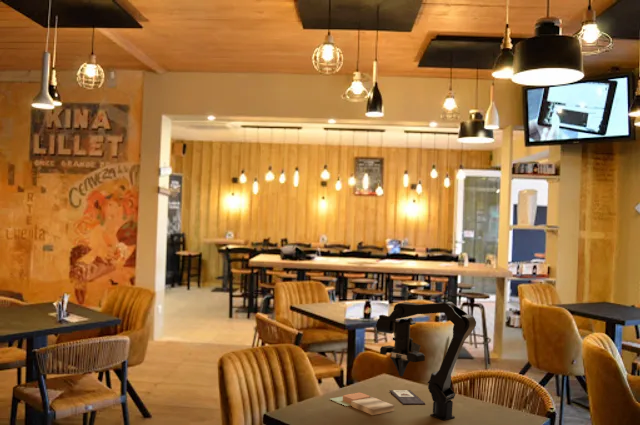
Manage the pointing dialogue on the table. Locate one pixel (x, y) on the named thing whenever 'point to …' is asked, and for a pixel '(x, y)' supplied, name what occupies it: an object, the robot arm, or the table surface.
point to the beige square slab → (372, 406)
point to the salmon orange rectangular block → (354, 397)
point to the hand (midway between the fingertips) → (401, 376)
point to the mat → (340, 401)
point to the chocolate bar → (407, 397)
